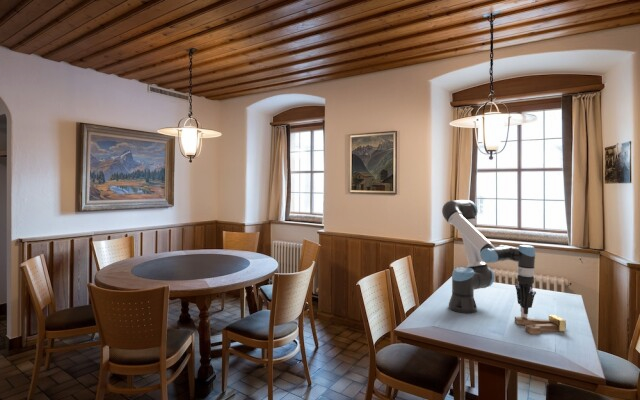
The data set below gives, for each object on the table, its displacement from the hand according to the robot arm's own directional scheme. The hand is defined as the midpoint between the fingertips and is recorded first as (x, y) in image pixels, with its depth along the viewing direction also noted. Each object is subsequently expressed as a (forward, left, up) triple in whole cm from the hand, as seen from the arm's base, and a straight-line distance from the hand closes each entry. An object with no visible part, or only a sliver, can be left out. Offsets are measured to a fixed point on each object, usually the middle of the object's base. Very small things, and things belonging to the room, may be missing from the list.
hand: (524, 319), depth 187 cm
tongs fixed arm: (+13, +2, -1) cm, 13 cm away
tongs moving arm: (+6, +5, -1) cm, 7 cm away
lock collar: (+11, +10, -1) cm, 14 cm away
